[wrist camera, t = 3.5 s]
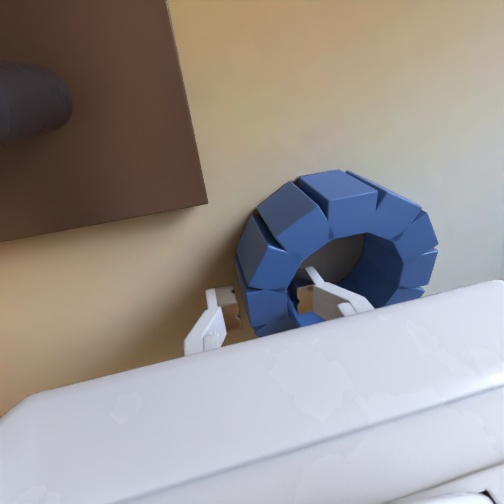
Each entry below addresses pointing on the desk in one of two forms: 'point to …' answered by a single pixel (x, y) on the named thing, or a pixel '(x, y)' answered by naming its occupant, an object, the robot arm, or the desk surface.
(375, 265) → the ring
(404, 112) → the desk surface
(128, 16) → the peg stand
